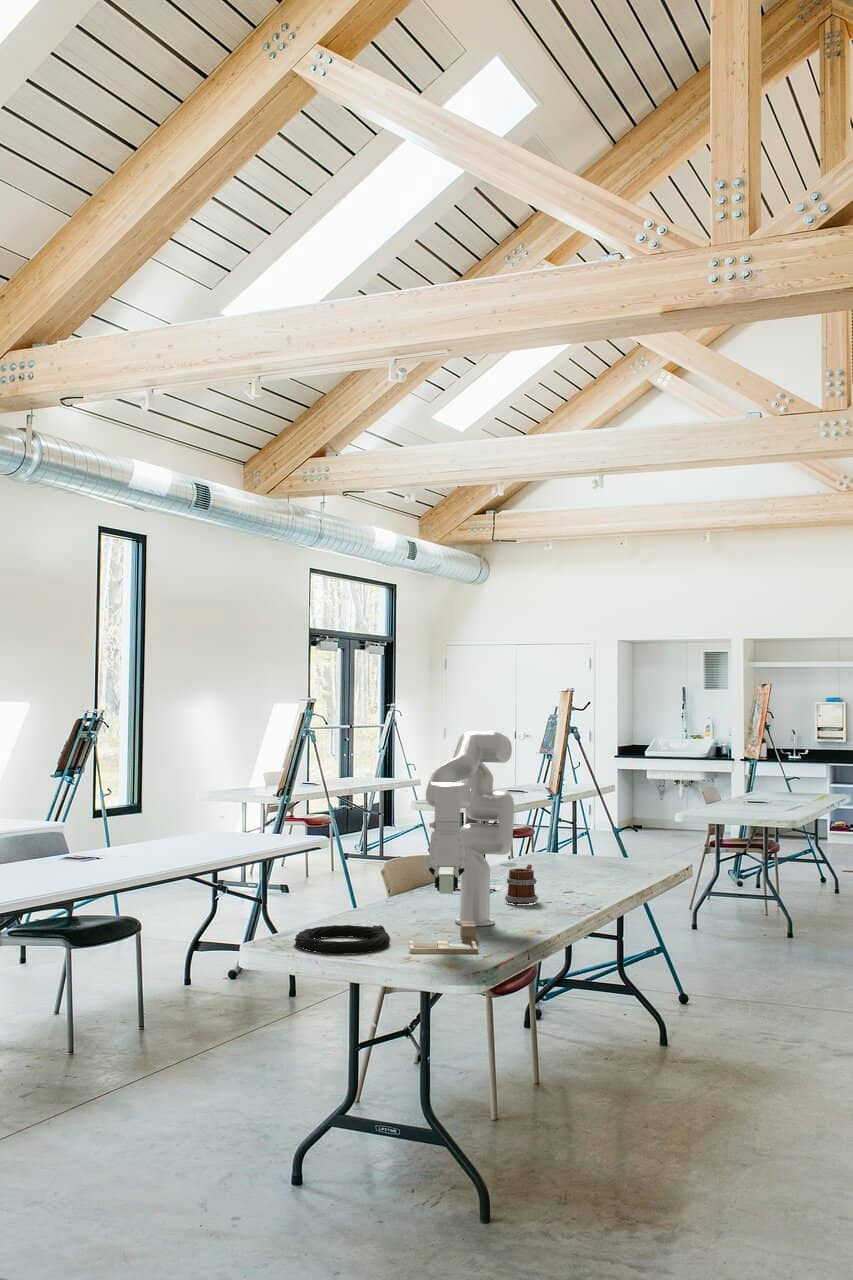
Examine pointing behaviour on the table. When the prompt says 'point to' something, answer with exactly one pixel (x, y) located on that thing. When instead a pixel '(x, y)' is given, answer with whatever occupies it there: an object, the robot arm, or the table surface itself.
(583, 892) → the table surface
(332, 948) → the cable lock
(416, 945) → the oak rack
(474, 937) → the walnut bar
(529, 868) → the mug
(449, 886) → the sage bar
